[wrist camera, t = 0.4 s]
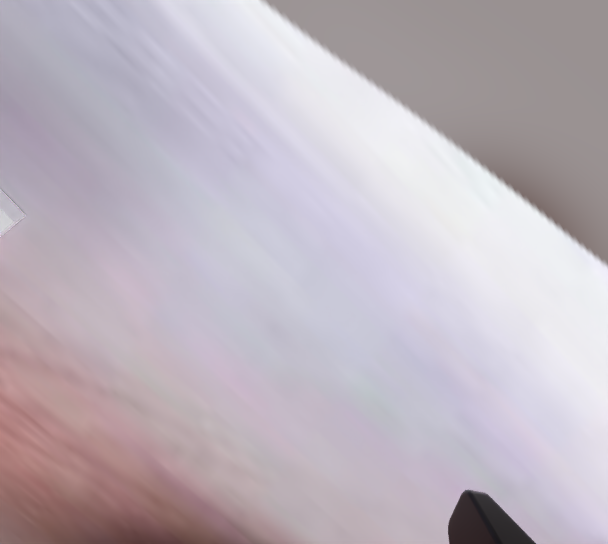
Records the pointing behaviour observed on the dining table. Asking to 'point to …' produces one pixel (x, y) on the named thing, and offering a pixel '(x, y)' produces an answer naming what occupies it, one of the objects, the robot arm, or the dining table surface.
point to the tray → (8, 213)
